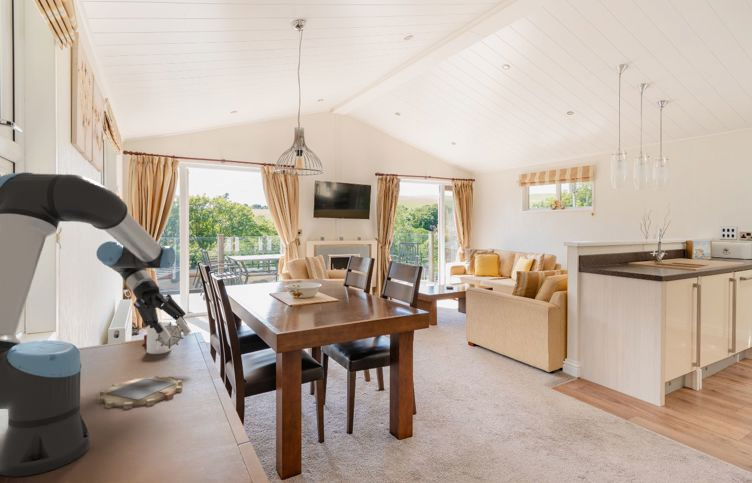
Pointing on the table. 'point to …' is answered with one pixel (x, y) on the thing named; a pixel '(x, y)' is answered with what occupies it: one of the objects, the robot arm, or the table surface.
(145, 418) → the table surface
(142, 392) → the sprocket plate
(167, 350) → the mug
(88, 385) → the table surface
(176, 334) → the game die
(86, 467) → the table surface
